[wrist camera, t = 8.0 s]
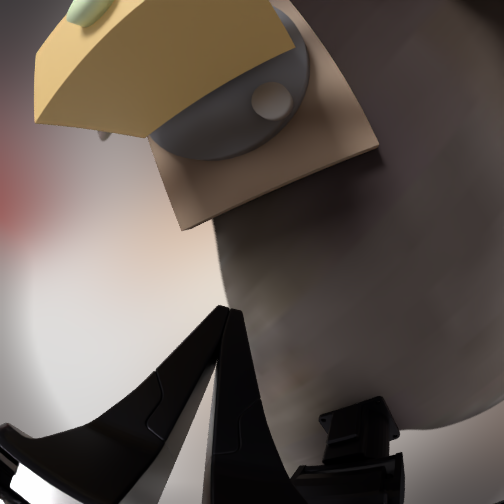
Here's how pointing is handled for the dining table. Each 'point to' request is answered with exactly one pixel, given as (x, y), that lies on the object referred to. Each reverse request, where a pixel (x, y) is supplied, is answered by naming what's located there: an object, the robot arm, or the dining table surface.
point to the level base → (283, 155)
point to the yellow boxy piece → (148, 59)
